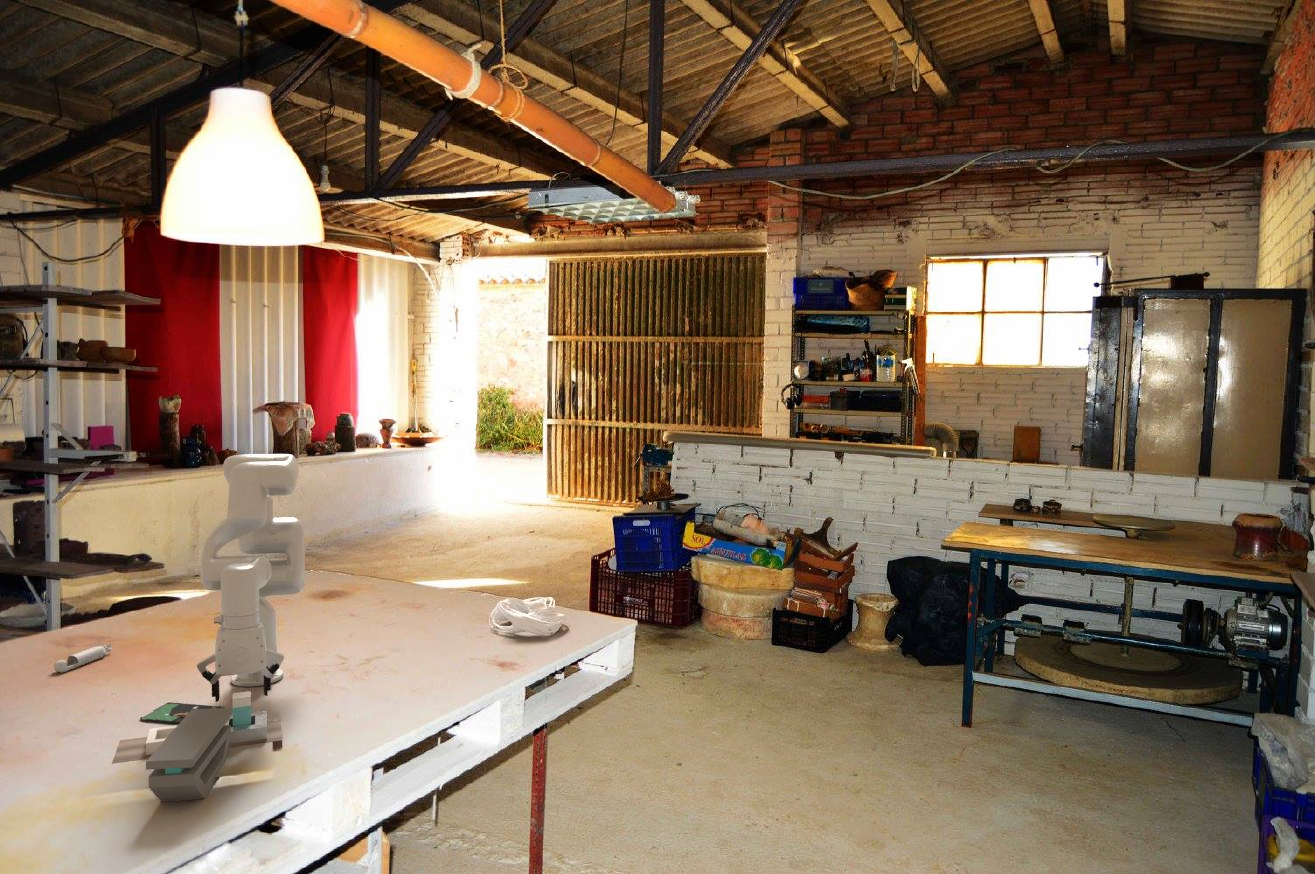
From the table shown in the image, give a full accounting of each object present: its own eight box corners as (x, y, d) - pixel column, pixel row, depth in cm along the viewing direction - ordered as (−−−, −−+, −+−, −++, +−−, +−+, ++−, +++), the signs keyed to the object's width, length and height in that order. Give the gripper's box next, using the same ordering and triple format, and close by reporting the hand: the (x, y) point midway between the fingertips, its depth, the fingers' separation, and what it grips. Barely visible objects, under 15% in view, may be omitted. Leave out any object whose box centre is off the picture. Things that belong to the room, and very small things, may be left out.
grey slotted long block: (193, 816, 166) (192, 759, 165) (147, 819, 165) (145, 761, 164) (232, 757, 191) (232, 707, 190) (193, 759, 189) (191, 709, 188)
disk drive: (225, 717, 213) (168, 712, 215) (225, 706, 213) (168, 701, 215) (197, 735, 203) (137, 729, 205) (197, 723, 202) (137, 717, 204)
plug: (233, 732, 199) (232, 693, 199) (251, 730, 201) (250, 691, 200) (233, 739, 196) (232, 698, 195) (251, 736, 198) (250, 696, 197)
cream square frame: (150, 739, 195) (150, 728, 195) (192, 734, 198) (192, 723, 198) (146, 754, 187) (145, 743, 187) (190, 748, 191) (190, 737, 191)
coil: (552, 643, 275) (553, 613, 274) (477, 635, 279) (478, 605, 278) (574, 622, 299) (575, 594, 299) (504, 614, 303) (505, 587, 303)
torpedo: (64, 675, 237) (64, 651, 237) (49, 673, 238) (48, 649, 238) (117, 654, 255) (117, 631, 254) (103, 652, 256) (102, 630, 255)
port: (217, 729, 201) (217, 716, 201) (266, 723, 205) (266, 710, 205) (216, 747, 192) (215, 733, 192) (267, 740, 196) (267, 726, 196)
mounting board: (120, 747, 194) (119, 740, 194) (281, 726, 207) (281, 719, 207) (111, 770, 183) (111, 763, 183) (282, 746, 196) (282, 739, 196)
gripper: (194, 629, 190) (196, 708, 191) (284, 621, 197) (284, 697, 198) (197, 619, 196) (198, 695, 198) (283, 612, 203) (284, 685, 205)
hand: (241, 696), depth 198 cm, fingers open, 9 cm apart
